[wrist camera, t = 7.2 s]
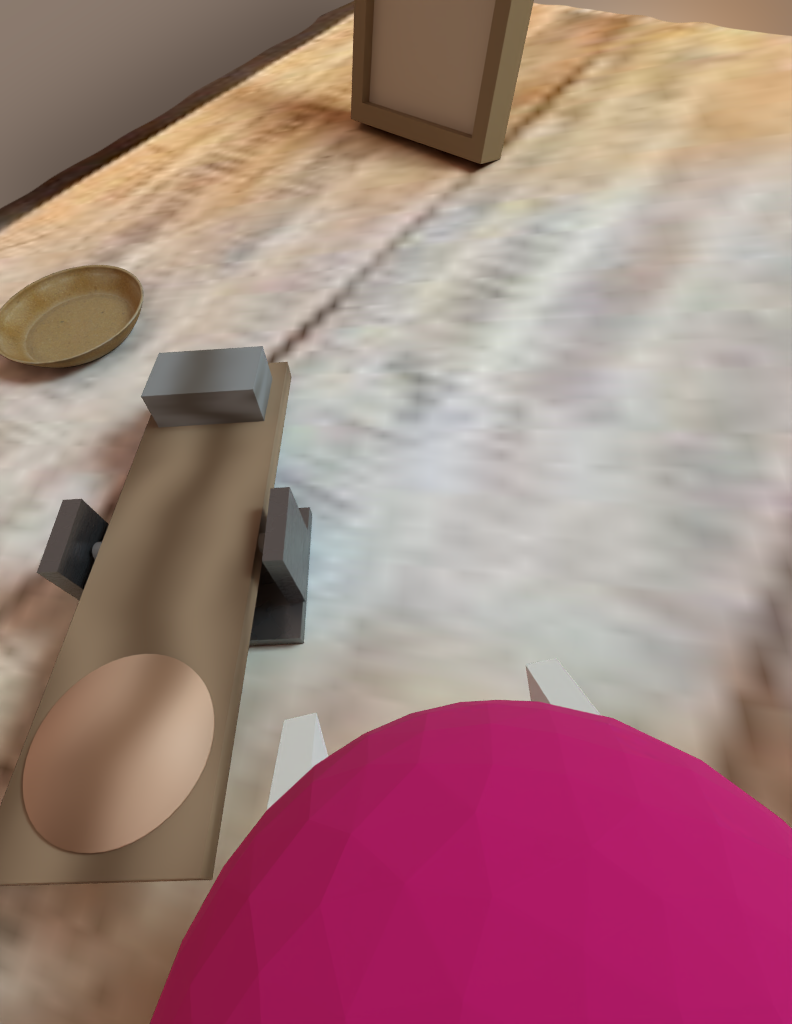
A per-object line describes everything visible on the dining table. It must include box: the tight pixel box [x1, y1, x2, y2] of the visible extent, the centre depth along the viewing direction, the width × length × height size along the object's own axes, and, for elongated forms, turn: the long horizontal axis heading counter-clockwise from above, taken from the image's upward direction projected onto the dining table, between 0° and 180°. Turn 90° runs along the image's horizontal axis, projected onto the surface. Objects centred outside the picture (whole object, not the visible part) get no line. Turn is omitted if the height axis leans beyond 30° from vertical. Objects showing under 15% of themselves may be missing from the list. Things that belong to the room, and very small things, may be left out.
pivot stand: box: [37, 487, 312, 645], centre depth 35 cm, size 14×10×7 cm
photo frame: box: [351, 0, 534, 164], centre depth 60 cm, size 15×22×25 cm
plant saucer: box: [0, 265, 143, 368], centre depth 52 cm, size 15×15×3 cm
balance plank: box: [0, 346, 291, 886], centre depth 32 cm, size 11×35×4 cm, turn 2°
